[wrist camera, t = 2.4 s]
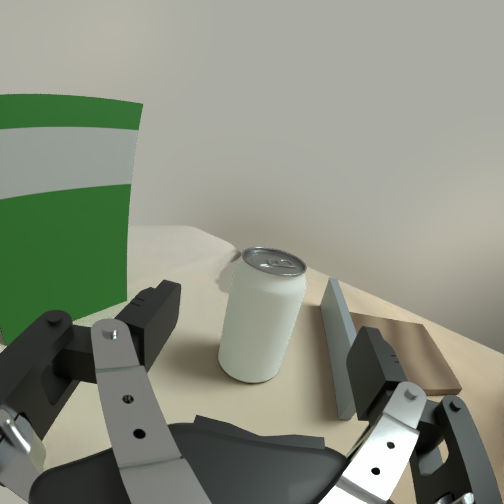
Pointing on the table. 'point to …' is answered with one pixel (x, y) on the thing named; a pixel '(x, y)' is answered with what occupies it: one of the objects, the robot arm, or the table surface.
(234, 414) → the table surface
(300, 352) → the table surface
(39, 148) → the hardback book
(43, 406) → the robot arm
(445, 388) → the walnut board
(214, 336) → the table surface
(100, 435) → the table surface
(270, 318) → the can
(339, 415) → the low wall
